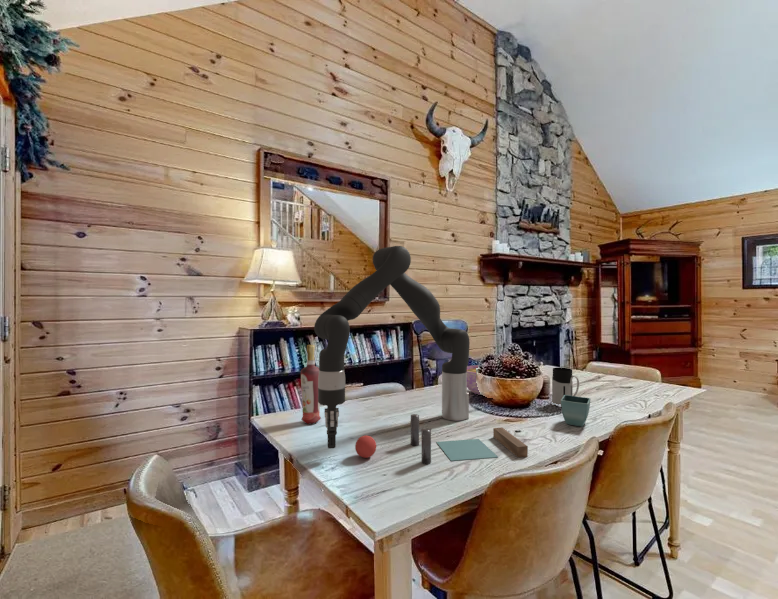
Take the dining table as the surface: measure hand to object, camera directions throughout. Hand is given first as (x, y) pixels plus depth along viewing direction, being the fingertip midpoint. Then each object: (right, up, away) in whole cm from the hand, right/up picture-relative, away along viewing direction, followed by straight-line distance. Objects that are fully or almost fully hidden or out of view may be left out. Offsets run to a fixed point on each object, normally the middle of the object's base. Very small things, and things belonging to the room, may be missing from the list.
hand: (331, 447), depth 111 cm
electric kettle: (+89, -3, +51) cm, 103 cm away
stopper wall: (+53, -3, +9) cm, 54 cm away
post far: (+24, -3, +11) cm, 27 cm away
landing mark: (+39, -3, +7) cm, 40 cm away
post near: (+26, -4, -2) cm, 27 cm away
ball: (+10, 0, +2) cm, 10 cm away
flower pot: (+83, -3, +30) cm, 88 cm away
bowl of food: (+60, -3, +72) cm, 94 cm away
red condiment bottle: (-12, -3, +33) cm, 35 cm away
